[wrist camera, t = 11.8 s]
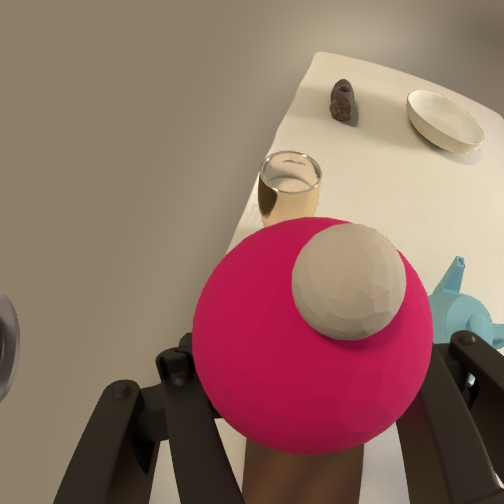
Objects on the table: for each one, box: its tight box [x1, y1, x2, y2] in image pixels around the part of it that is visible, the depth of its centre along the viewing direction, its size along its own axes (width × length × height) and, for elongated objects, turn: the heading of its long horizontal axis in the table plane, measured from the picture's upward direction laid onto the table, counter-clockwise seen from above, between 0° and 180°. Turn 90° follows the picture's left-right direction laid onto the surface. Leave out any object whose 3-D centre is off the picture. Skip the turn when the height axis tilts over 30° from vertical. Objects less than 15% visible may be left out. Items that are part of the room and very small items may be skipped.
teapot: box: [428, 256, 504, 382], centre depth 30 cm, size 15×15×11 cm
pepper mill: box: [192, 217, 433, 455], centre depth 12 cm, size 7×7×20 cm
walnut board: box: [242, 438, 364, 504], centre depth 28 cm, size 14×14×1 cm
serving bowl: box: [406, 90, 484, 153], centre depth 56 cm, size 21×21×7 cm
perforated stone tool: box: [330, 79, 354, 121], centre depth 59 cm, size 15×5×7 cm, turn 164°
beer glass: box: [258, 151, 322, 228], centre depth 37 cm, size 7×7×15 cm
